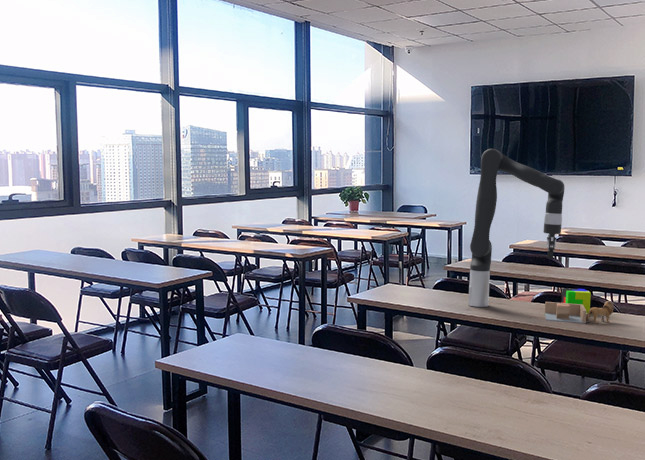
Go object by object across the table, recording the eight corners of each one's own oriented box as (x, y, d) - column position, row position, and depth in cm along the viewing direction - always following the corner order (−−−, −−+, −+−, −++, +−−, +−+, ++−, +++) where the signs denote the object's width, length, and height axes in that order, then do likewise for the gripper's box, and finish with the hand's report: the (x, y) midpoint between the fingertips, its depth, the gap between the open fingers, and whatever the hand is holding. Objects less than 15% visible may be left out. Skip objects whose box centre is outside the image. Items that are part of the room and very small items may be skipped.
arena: (546, 320, 274) (546, 308, 273) (544, 313, 288) (545, 301, 287) (585, 323, 269) (586, 311, 269) (582, 316, 283) (582, 304, 283)
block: (568, 319, 274) (569, 306, 274) (556, 318, 276) (557, 305, 275) (568, 317, 279) (568, 303, 278) (556, 316, 280) (556, 302, 280)
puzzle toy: (582, 309, 299) (583, 289, 298) (589, 314, 289) (590, 292, 288) (561, 308, 300) (562, 288, 299) (567, 313, 290) (568, 291, 289)
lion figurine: (606, 319, 277) (607, 299, 277) (616, 322, 273) (617, 302, 272) (581, 322, 271) (583, 301, 271) (591, 325, 266) (593, 304, 266)
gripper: (562, 224, 278) (559, 260, 279) (560, 222, 291) (558, 257, 293) (544, 223, 280) (541, 259, 282) (543, 221, 294) (541, 255, 295)
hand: (550, 258), depth 287 cm, fingers open, 8 cm apart
